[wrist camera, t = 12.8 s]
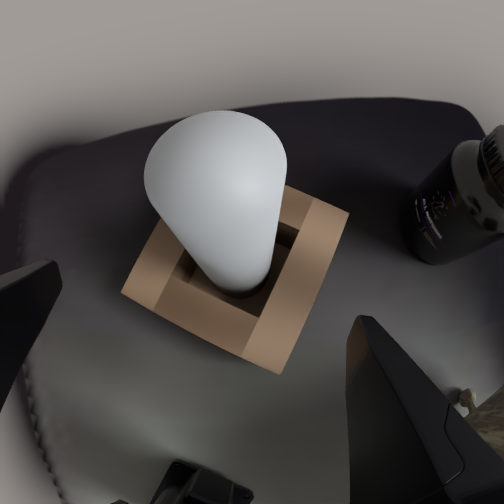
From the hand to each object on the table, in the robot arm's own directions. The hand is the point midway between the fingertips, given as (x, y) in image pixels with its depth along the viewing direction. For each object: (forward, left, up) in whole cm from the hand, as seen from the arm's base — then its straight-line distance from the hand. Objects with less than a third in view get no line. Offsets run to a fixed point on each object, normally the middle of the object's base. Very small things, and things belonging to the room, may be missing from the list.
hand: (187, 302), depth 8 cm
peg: (+4, +1, -12) cm, 13 cm away
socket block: (+4, +1, -13) cm, 14 cm away
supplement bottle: (+14, -12, -13) cm, 23 cm away
